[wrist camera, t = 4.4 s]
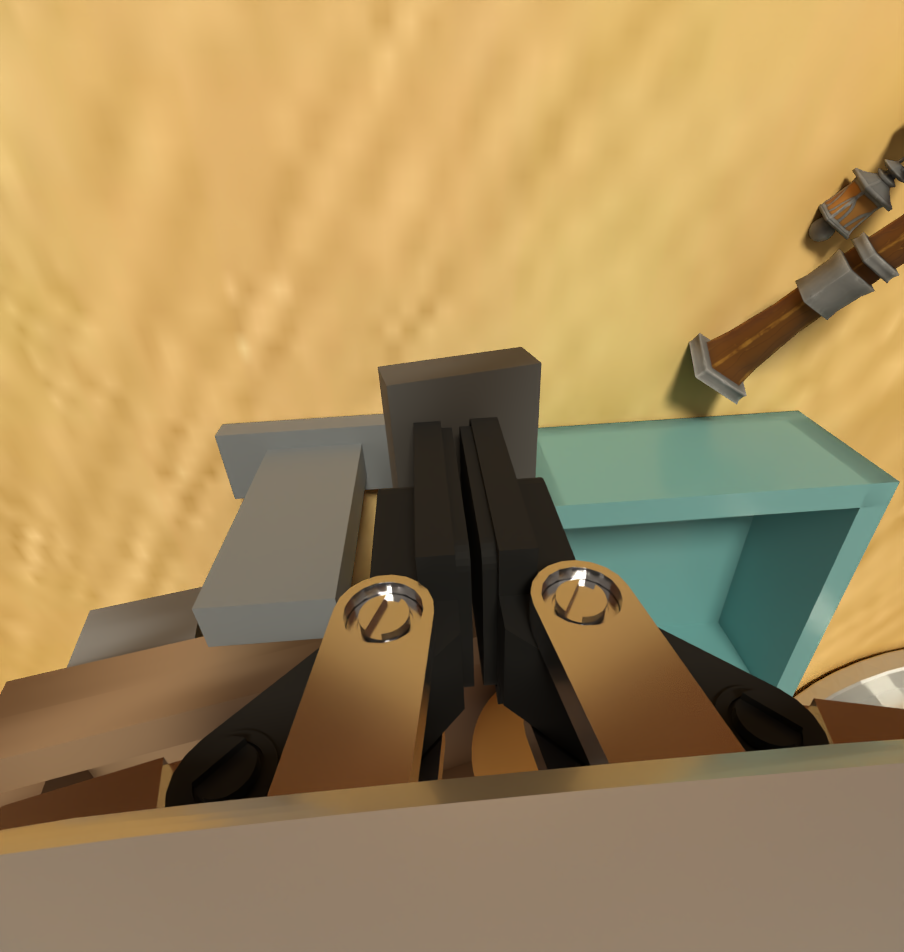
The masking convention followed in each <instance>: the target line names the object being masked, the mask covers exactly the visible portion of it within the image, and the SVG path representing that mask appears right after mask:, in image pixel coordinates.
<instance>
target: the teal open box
mask: <svg viewBox="0 0 904 952" xmlns="http://www.w3.org/2000/svg"><path fill="white" fill-rule="evenodd" d="M535 477H542V478H543V479H544V481H545V483H546V486H547V488H548V491H549V493H550V496H551V498H552V501H553V503H554V506H555V508H556V511H557V513H558V516H559V518H560V521H561V524H562V526H563V529H564V531H565V534H566V536H567V539H568V541H569V544H570V546H571V549H572V551H573V554H574V556H575V559H576V560H579V561H587V562H592V563H595V564H598V565H601V566H604V567H606V568H608V569H609V570H611V571H613V572H614V573H616V574H618V575H619V576H620V577H621V578H622V579H623V580H624V581H625V582H626V584H627V585H628V586H629V587H630V589H631V590H632V591H633V593H634V594H635V596H636V597H637V599H638V600H639V601H640V603H641V604H642V606H643V607H644V608H645V610H646V611H647V613H648V614H649V615H650V617H651V618H652V620H653V621H654V622H655V624H656V625H657V627H659V628H661V629H663V630H665V631H667V632H669V633H670V634H672V635H674V636H676V637H678V638H680V639H682V640H684V641H686V642H688V643H690V644H692V645H694V646H696V647H698V648H700V649H702V650H704V651H706V652H708V653H710V654H712V655H714V656H716V657H718V658H720V659H722V660H724V661H726V662H728V663H730V664H732V665H734V666H736V667H738V668H740V669H742V670H744V671H746V672H747V673H749V674H751V675H753V676H755V677H757V678H759V679H761V680H763V681H765V682H767V683H769V684H771V685H773V686H775V687H777V688H779V689H781V690H782V691H784V692H785V693H787V694H789V695H790V696H792V697H793V695H794V693H795V691H796V689H797V687H798V685H799V683H800V681H801V679H802V677H803V675H804V673H805V671H806V669H807V667H808V665H809V663H810V661H811V659H812V657H813V655H814V653H815V651H816V649H817V647H818V645H819V643H820V641H821V639H822V637H823V635H824V633H825V631H826V629H827V627H828V625H829V622H830V620H831V618H832V616H833V614H834V612H835V610H836V608H837V606H838V604H839V602H840V600H841V598H842V596H843V594H844V592H845V590H846V588H847V586H848V584H849V582H850V580H851V578H852V576H853V574H854V572H855V570H856V568H857V566H858V564H859V562H860V560H861V558H862V556H863V554H864V552H865V550H866V548H867V546H868V544H869V542H870V540H871V538H872V536H873V534H874V532H875V530H876V528H877V526H878V524H879V522H880V520H881V518H882V516H883V514H884V512H885V510H886V508H887V506H888V504H889V502H890V500H891V498H892V496H893V494H894V492H895V490H896V488H897V486H898V484H899V481H898V480H896V479H895V478H894V477H892V476H891V475H889V474H888V473H886V472H885V471H884V470H882V469H881V468H879V467H878V466H876V465H875V464H874V463H872V462H871V461H869V460H868V459H866V458H865V457H864V456H862V455H861V454H859V453H858V452H856V451H855V450H854V449H852V448H851V447H849V446H848V445H846V444H845V443H844V442H842V441H841V440H839V439H838V438H836V437H835V436H834V435H832V434H831V433H829V432H828V431H826V430H825V429H824V428H822V427H821V426H819V425H818V424H816V423H815V422H814V421H812V420H811V419H809V418H808V417H806V416H805V415H804V414H802V413H801V412H799V411H786V412H771V413H756V414H740V415H725V416H710V417H695V418H680V419H665V420H650V421H635V422H620V423H605V424H590V425H575V426H560V427H545V428H538V438H537V457H536V476H535Z"/></svg>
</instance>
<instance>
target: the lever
mask: <svg viewBox="0 0 904 952" xmlns="http://www.w3.org/2000/svg"><path fill="white" fill-rule="evenodd" d="M378 373H379V381H380V389H381V397H382V405H383V413H384V421H385V429H386V437H387V445H388V453H389V461H390V469H391V477H392V485H393V488H401V487H414V435H413V423H417V422H431V421H441V428H448V427H452V432H453V439H454V446H455V453H456V459H457V466H458V473H459V480H460V487H461V494H462V486H461V461H460V435H459V427H462V426H469V420H470V419H474V418H488V417H497V418H498V421H499V424H500V427H501V430H502V433H503V437H504V440H505V443H506V446H507V449H508V452H509V456H510V459H511V462H512V465H513V468H514V471H515V475H516V478H517V479H522V478H535V476H536V457H537V438H538V418H539V399H540V379H541V362H539V361H538V360H537V359H536V358H535V357H533V356H532V355H531V354H530V353H528V352H527V351H526V350H525V349H523V348H522V347H517V348H510V349H503V350H496V351H488V352H481V353H474V354H467V355H460V356H453V357H445V358H438V359H431V360H424V361H417V362H409V363H402V364H395V365H388V366H381V367H378ZM201 589H202V587H199V588H195V589H190V590H185V591H181V592H176V593H171V594H166V595H162V596H157V597H152V598H148V599H143V600H138V601H133V602H129V603H124V604H119V605H115V606H110V607H105V608H100V609H96V610H91V611H90V612H89V614H88V617H87V619H86V622H85V624H84V627H83V629H82V632H81V634H80V636H79V639H78V641H77V644H76V646H75V649H74V651H73V654H72V656H71V659H70V661H69V664H68V666H67V668H64V669H60V670H55V671H51V672H47V673H42V674H38V675H34V676H29V677H25V678H21V679H16V680H12V681H8V682H6V684H5V686H4V688H3V690H2V692H1V694H0V807H2V806H4V805H7V804H10V803H13V802H17V801H20V800H23V799H26V798H30V797H33V796H36V795H40V794H43V793H46V792H50V791H53V790H56V789H60V788H63V787H66V786H69V785H73V784H76V783H79V782H83V781H86V780H89V779H93V778H96V777H99V776H102V775H106V774H109V773H112V772H116V771H119V770H122V769H126V768H129V767H132V766H136V765H139V764H142V763H145V762H149V761H152V760H155V759H159V758H162V757H164V758H165V760H166V761H167V763H168V764H170V763H173V762H177V761H180V760H182V759H183V758H184V757H185V755H186V754H187V753H188V752H189V751H190V750H191V749H192V748H193V747H194V746H195V745H197V744H198V743H199V742H200V741H201V740H202V739H203V738H204V737H206V736H207V735H208V734H209V733H211V732H212V731H213V730H215V729H216V728H217V727H218V726H220V725H221V724H222V723H224V722H225V721H226V720H227V719H229V718H230V717H231V716H232V715H234V714H235V713H236V712H238V711H239V710H240V709H241V708H243V707H244V706H245V705H247V704H248V703H249V702H250V701H252V700H253V699H254V698H255V697H257V696H258V695H259V694H261V693H262V692H263V691H264V690H266V689H267V688H268V687H270V686H271V685H272V684H273V683H275V682H276V681H277V680H278V679H280V678H281V677H282V676H284V675H285V674H286V673H287V672H289V671H290V670H291V669H293V668H294V667H295V666H296V665H298V664H299V663H300V662H301V661H303V660H304V659H305V658H307V657H308V656H309V655H310V654H312V653H313V652H314V651H316V650H317V649H318V648H319V647H320V645H321V643H322V640H323V638H320V639H307V640H294V641H281V642H268V643H255V644H242V645H229V646H216V647H208V645H207V643H206V640H205V638H204V636H203V634H202V631H201V629H200V627H199V624H198V622H197V620H196V618H195V615H194V613H193V611H192V608H193V605H194V603H195V601H196V599H197V597H198V595H199V593H200V591H201ZM472 622H473V654H474V687H464V704H465V709H464V710H463V711H462V713H461V714H460V715H459V716H458V717H457V718H456V719H455V720H454V721H453V722H452V724H451V725H450V726H449V727H448V728H447V729H446V730H445V752H444V763H443V774H442V780H443V779H453V778H464V777H474V773H473V767H472V739H473V734H474V729H475V726H476V723H477V720H478V717H479V715H480V713H481V712H482V710H483V708H484V706H485V705H486V703H487V702H488V700H489V699H490V698H491V697H492V696H493V695H494V694H495V693H496V689H495V685H483V680H482V673H481V665H480V658H479V651H478V643H477V636H476V628H475V621H474V614H473V606H472Z"/></svg>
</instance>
